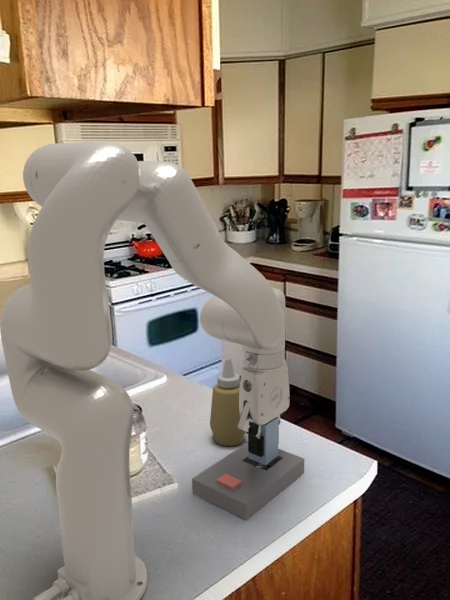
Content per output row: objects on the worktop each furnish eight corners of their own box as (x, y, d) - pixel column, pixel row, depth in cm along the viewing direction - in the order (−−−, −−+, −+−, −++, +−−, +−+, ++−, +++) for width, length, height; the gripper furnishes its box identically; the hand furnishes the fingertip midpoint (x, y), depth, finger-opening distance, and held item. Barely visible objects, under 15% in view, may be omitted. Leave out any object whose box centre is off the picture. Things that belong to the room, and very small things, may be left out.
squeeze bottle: (215, 452, 112) (213, 369, 108) (206, 433, 120) (204, 355, 115) (253, 446, 114) (253, 364, 110) (241, 428, 122) (241, 351, 117)
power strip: (246, 520, 91) (246, 501, 90) (192, 493, 98) (191, 475, 97) (303, 472, 104) (304, 455, 103) (252, 452, 112) (252, 436, 111)
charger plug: (265, 465, 101) (265, 423, 99) (248, 458, 103) (247, 416, 101) (278, 456, 104) (278, 414, 102) (260, 449, 106) (260, 408, 104)
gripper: (252, 376, 90) (252, 476, 95) (306, 348, 102) (304, 437, 107) (217, 366, 95) (219, 461, 99) (272, 340, 107) (272, 425, 112)
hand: (263, 447), depth 103 cm, fingers closed on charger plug, 4 cm apart
